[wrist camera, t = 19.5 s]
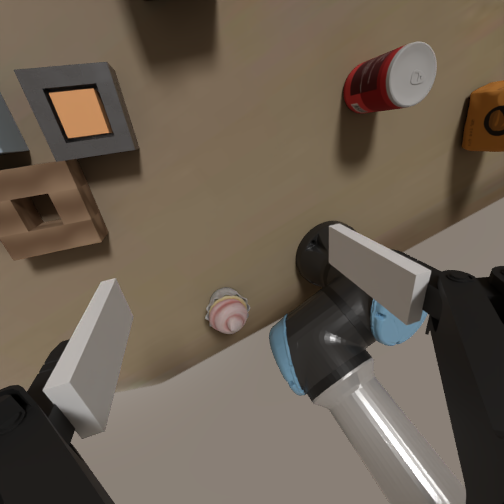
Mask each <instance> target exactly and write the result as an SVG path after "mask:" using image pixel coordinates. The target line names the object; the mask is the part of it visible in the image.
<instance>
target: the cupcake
mask: <svg viewBox="0 0 504 504" xmlns="http://www.w3.org/2000/svg"><path fill="white" fill-rule="evenodd" d="M206 309H207V311H208V312H207V314H206V316H205V319H207V320H208V321H209V322H210V324H209V325H210V327H213V328H214V329H216V330H218V331H220V332H222V333H225V334H233V333H235V332H237V331H239V330H240V329H241V328H242V327H243V326H244V324H245V322H246V320H247V318H248V311H249V310H250V306H249V305H248V304H247V299H246V298H244V297H242V296H241V295H239V294H238V293H237V292H236V291H235V290H234V289H232V288H227V287H226V288H221V289H218V290H217V291H215V292H214V293H213V295H212V296H211V299H210V303H209V305H208V306H207V308H206Z"/></svg>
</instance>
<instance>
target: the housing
mask: <svg viewBox="0 0 504 504" xmlns="http://www.w3.org/2000/svg"><path fill="white" fill-rule="evenodd" d="M14 72H15V74H16V76H17V78H18V80H19V82H20V85H21V87H22V89H23V91H24V93H25V95H26V97H27V100H28V102H29V104H30V106H31V108H32V110H33V112H34V115H35V117H36V119H37V121H38V123H39V125H40V127H41V130H42V132H43V134H44V136H45V138H46V140H47V142H48V145H49V147H50V149H51V151H52V153H53V155H54V157H55V160H56V162H59V161H65V160H72V159H78V158H85V157H91V156H98V155H104V154H111V153H117V152H124V151H131V150H136V149H139V146H138V142H137V139H136V136H135V133H134V130H133V127H132V123H131V120H130V117H129V114H128V111H127V107H126V104H125V101H124V98H123V95H122V92H121V88H120V85H119V82H118V79H117V76H116V73H115V70H114V69H113V68H112V67H111V66H110V65H109V64H108V63H107V62H99V63H87V64H76V65H64V66H53V67H41V68H30V69H18V70H14ZM92 88H94V89H95V90H97V91H98V92H99V93H100V96H101V99H102V102H103V104H104V107H105V110H106V113H107V116H108V119H109V122H110V124H111V127H112V130H113V134H106V135H99V136H92V137H85V138H68V137H67V135H66V132H65V130H64V128H63V125H62V123H61V121H60V118H59V116H58V114H57V111H56V109H55V107H54V104H53V102H52V100H51V97H50V95H49V93H53V92H63V91H72V90H82V89H92Z"/></svg>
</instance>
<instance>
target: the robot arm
mask: <svg viewBox="0 0 504 504" xmlns="http://www.w3.org/2000/svg"><path fill="white" fill-rule="evenodd" d="M296 263H297V267H298V270H299V272H300V273H301V274H302V275H303V277H304V278H305V279H306V280H307V281H309V282H310V283H312V284H314V285H317V286H320V287H322V289H321V290H319V291H318V292H317V293H315V294H314V295H313V296H311V297H310V298H309V299H307V300H306V301H305V302H304V303H302V304H301V305H300V306H298V307H297V308H296V309H294V310H293V311H292V312H290V313H289V314H286V315H285V316H284V318H282V319H281V320H280V321H279V322H278V323H277V324H276V325H274V326H273V327H272V329H271V330H270V334H269V339H270V346H271V349H272V352H273V355H274V358H275V360H276V363H277V365H278V367H279V369H280V371H281V373H282V375H283V377H284V379H285V380H286V381H288V384H289V386H290V388H291V389H292V390H293V391H294V392H295V393H296V394H297V395H300V396H301V395H305V394H308V396H309V397H310V399H311V401H312V402H313V404H316V405H320V406H323V407H325V408H327V409H329V410H330V412H331V413H332V415H333V416H334V418H335V420H336V421H337V423H338V424H339V426H340V427H341V429H342V430H343V432H344V433H345V435H346V437H347V438H348V440H349V441H350V443H351V444H352V446H353V447H354V449H355V451H356V452H357V454H358V455H359V457H360V458H361V460H362V461H363V463H364V464H365V466H366V468H367V469H368V471H369V472H370V474H371V475H372V477H373V478H374V480H375V481H376V483H377V485H378V486H379V488H380V489H381V491H382V492H383V494H384V495H385V497H386V499H387V500H388V502H389V503H390V504H504V266H498V267H494V268H492V271H491V274H490V276H489V277H482V278H475V277H474V276H472V275H470V274H468V273H465V272H462V271H456V270H447V271H443V272H441V271H439V270H437V269H435V268H433V267H431V266H429V265H427V264H425V263H423V262H421V261H417V259H415V258H413V257H410V256H409V255H407V254H405V253H403V252H400V251H397V250H393V249H388V248H386V247H384V246H382V245H381V244H379V243H377V242H375V241H373V240H371V239H369V238H367V237H365V236H363V235H361V234H359V233H357V232H356V231H355V230H354V229H353V228H352V227H350V226H348V225H346V224H344V223H342V222H339V221H328V222H324V223H321V224H319V225H317V226H316V227H314V228H313V229H311V230H310V231H309V232H308V233H307V234H306V235H305V237H304V238H303V239H302V241H301V243H300V245H299V247H298V250H297V255H296ZM427 314H429V320H428V324H427V328H426V334H428V333H429V331H431V336H432V340H433V344H434V349H435V353H436V358H437V362H438V366H439V371H440V375H441V380H442V384H443V389H444V393H445V398H446V402H447V407H448V410H449V415H450V420H451V424H452V429H453V433H454V438H455V442H456V447H457V450H458V455H459V460H460V464H461V468H462V473H463V478H464V482H465V487H464V486H463V484H462V483H461V482H460V481H459V480H458V479H457V477H456V476H455V475H454V474H453V472H452V471H451V470H450V469H449V467H448V466H447V465H446V464H445V462H444V461H443V460H442V459H441V458H440V456H439V455H438V454H437V453H436V451H435V450H434V449H433V447H432V446H431V445H430V444H429V443H428V441H427V440H426V439H425V438H424V436H423V435H422V434H421V433H420V431H419V430H418V429H417V428H416V426H414V424H413V423H412V422H411V420H410V419H409V418H408V417H407V415H406V414H405V413H404V412H403V410H402V409H401V408H400V407H399V405H398V404H397V403H396V402H395V401H394V399H393V398H392V397H391V396H390V394H389V393H388V392H387V391H386V390H385V388H384V387H383V386H382V385H381V383H380V382H379V381H378V380H377V378H376V377H375V375H374V359H373V358H372V357H371V356H370V354H369V353H368V352H367V351H366V348H367V347H368V346H369V345H371V344H372V343H374V342H375V341H376V340H377V341H378V342H380V343H382V344H384V345H388V346H393V345H395V344H400V343H402V342H404V341H406V340H407V339H409V338H410V337H411V336H412V335H413V334H414V333H415V332H416V331H417V330H418V329H419V327H420V326H421V325H422V323H423V322H424V320H425V318H426V316H427ZM132 320H133V314H132V312H131V310H130V308H129V306H128V304H127V301H126V299H125V297H124V295H123V293H122V290H121V288H120V286H119V284H118V282H117V280H116V278H115V279H111V280H107V281H102V282H101V283H100V285H99V287H98V289H97V290H96V292H95V294H94V296H93V298H92V300H91V302H90V303H89V305H88V307H87V309H86V311H85V313H84V314H83V316H82V318H81V320H80V322H79V324H78V326H77V327H76V329H75V331H74V333H73V335H72V337H71V339H69V340H66V341H62V342H61V343H60V344H59V345H58V346H57V347H56V348H55V349H54V350H53V351H52V352H51V353H50V354H49V356H48V358H47V359H46V361H45V365H43V366H42V368H41V369H40V371H39V374H37V376H36V378H35V379H34V381H33V383H32V384H31V386H30V388H29V390H28V391H27V392H26V391H25V389H24V388H23V387H21V386H19V385H13V386H9V387H6V388H3V389H1V390H0V504H115V503H114V502H113V501H112V499H111V498H110V496H109V495H108V494H107V492H106V491H105V489H104V488H103V487H102V485H101V484H100V482H99V481H98V480H97V478H96V477H95V476H94V474H93V472H92V471H91V470H90V469H89V467H88V465H87V464H86V463H85V461H84V460H83V458H82V457H81V456H80V454H79V453H78V451H77V450H76V449H75V447H74V446H73V445H72V444H71V443H70V442H71V439H72V437H73V434H74V431H76V432H77V433H78V434H79V436H80V437H81V438H82V439H84V438H87V437H89V436H92V435H95V434H98V433H101V432H104V431H105V429H106V425H107V421H108V416H109V413H110V408H111V405H112V401H113V396H114V393H115V389H116V385H117V381H118V377H119V373H120V368H121V364H122V360H123V356H124V352H125V348H126V344H127V340H128V336H129V332H130V328H131V324H132Z"/></svg>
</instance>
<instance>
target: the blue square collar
mask: <svg viewBox="0 0 504 504" xmlns="http://www.w3.org/2000/svg"><path fill="white" fill-rule="evenodd" d="M22 151H29V149H28V147H27V145H26V143H25V141H24V139H23V137H22V135H21V133H20V131H19V129H18V127H17V125H16V123H15V121H14V119H13V117H12V115H11V113H10V111H9V109H8V107H7V105H6V103H5V101H4V99H3V97H2V95H1V93H0V155H1V154H8V153H15V152H22Z"/></svg>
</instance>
